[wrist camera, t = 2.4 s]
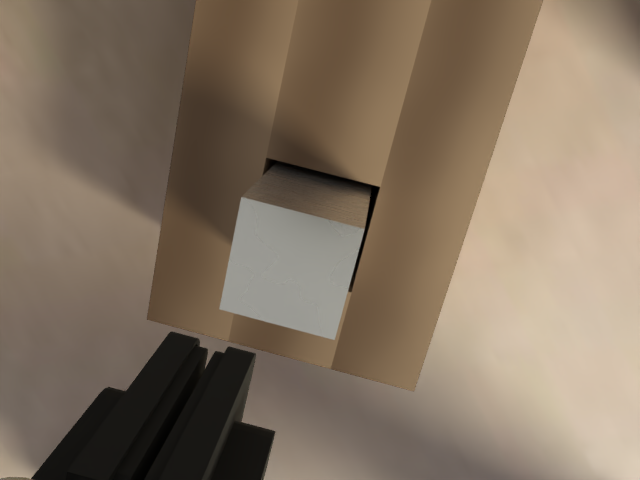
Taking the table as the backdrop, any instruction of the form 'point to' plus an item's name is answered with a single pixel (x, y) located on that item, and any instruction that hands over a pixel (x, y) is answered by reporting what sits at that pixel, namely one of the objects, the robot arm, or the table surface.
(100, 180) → the table surface
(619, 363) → the table surface
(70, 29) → the table surface
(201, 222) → the walnut block
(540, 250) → the table surface
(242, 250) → the pin
